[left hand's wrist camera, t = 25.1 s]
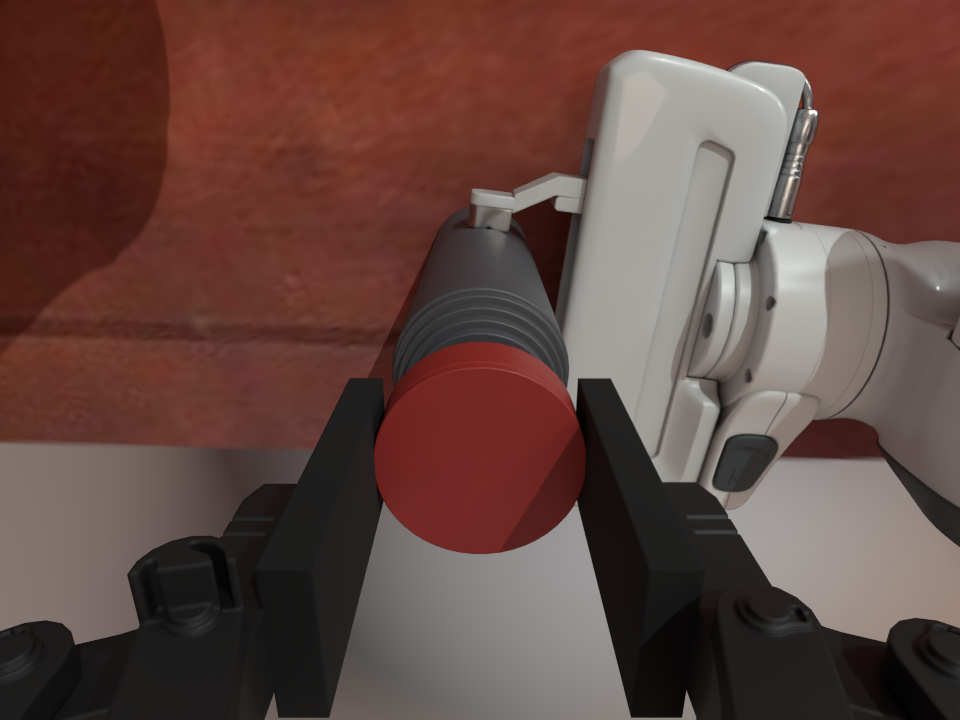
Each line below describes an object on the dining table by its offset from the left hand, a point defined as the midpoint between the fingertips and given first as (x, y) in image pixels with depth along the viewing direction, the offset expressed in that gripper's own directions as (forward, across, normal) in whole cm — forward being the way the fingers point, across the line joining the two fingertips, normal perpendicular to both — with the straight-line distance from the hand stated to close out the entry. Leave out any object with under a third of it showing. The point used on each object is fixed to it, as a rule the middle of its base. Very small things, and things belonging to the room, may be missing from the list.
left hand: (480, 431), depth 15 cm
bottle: (+21, 0, 0) cm, 21 cm away
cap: (-1, 0, 0) cm, 1 cm away
